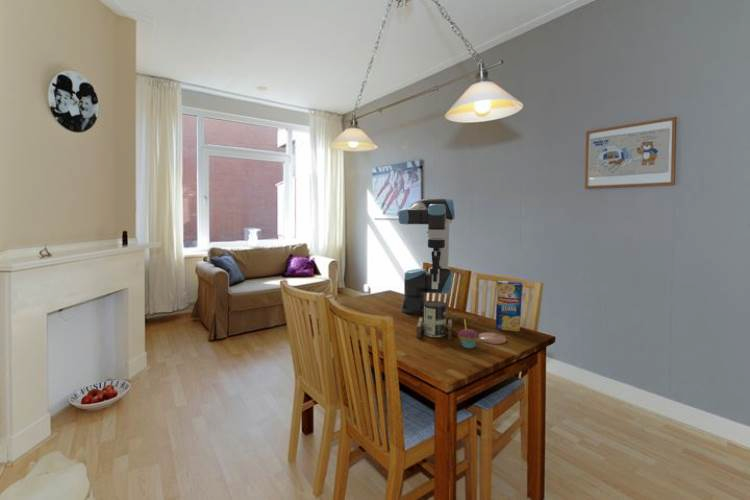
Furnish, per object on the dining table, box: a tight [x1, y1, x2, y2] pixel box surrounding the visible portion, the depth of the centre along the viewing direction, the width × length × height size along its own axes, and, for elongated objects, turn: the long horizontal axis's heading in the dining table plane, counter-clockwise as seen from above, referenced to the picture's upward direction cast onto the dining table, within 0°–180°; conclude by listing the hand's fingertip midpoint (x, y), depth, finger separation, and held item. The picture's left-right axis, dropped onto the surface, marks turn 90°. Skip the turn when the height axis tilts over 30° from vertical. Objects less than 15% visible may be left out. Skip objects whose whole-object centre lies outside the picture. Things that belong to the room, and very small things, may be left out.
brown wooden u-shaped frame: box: [416, 316, 453, 341], centre depth 166 cm, size 14×15×5 cm
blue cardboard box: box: [495, 280, 523, 332], centre depth 173 cm, size 7×11×22 cm, turn 69°
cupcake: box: [457, 317, 480, 349], centre depth 150 cm, size 9×8×12 cm
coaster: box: [478, 332, 507, 345], centre depth 159 cm, size 12×12×1 cm
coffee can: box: [423, 300, 447, 338], centre depth 166 cm, size 10×10×14 cm
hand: (435, 285), depth 164 cm, fingers open, 13 cm apart
